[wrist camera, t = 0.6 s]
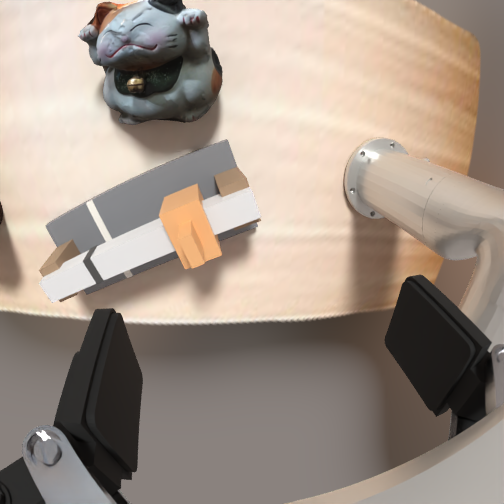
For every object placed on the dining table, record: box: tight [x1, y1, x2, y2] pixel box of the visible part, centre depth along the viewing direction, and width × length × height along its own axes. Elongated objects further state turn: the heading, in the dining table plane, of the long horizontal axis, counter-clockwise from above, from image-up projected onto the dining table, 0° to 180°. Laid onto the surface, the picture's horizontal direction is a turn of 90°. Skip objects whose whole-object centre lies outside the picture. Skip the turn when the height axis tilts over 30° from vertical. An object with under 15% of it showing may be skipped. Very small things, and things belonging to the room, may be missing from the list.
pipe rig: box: [39, 139, 261, 303], centre depth 33 cm, size 27×12×10 cm, turn 108°
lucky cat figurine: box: [78, 0, 222, 125], centre depth 23 cm, size 15×12×14 cm
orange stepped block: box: [159, 184, 222, 269], centre depth 29 cm, size 4×6×10 cm, turn 18°
